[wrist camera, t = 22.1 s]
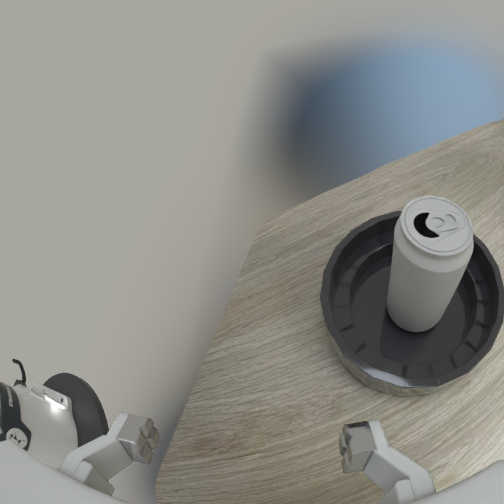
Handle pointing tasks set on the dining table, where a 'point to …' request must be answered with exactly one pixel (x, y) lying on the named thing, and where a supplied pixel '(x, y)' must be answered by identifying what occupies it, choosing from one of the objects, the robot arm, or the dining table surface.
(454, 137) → the dining table surface
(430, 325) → the beverage can
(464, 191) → the dining table surface
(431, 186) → the dining table surface
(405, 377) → the grey shallow round dish
